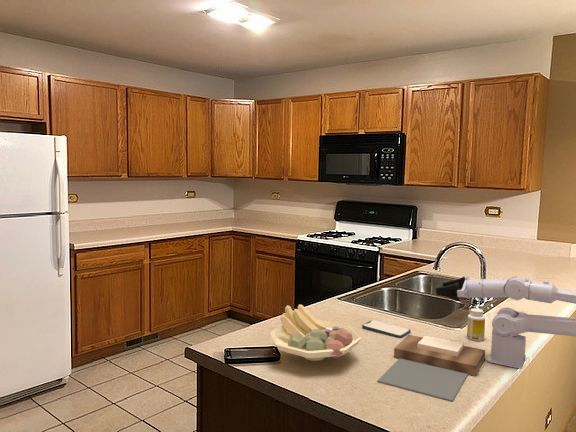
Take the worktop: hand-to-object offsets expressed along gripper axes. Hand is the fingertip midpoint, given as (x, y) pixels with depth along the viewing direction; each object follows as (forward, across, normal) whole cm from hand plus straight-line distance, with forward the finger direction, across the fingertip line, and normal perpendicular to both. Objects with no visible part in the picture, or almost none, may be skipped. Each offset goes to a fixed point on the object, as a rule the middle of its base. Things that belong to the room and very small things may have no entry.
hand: (439, 288), depth 151 cm
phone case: (+23, -5, +17) cm, 29 cm away
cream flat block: (0, +8, +17) cm, 19 cm away
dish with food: (+32, +30, +14) cm, 46 cm away
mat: (0, +26, +20) cm, 33 cm away
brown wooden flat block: (0, +10, +20) cm, 22 cm away
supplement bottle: (-6, -15, +21) cm, 26 cm away
